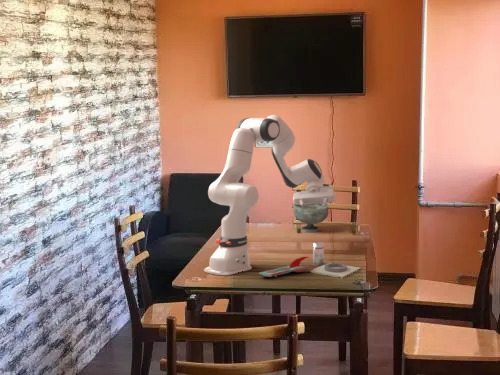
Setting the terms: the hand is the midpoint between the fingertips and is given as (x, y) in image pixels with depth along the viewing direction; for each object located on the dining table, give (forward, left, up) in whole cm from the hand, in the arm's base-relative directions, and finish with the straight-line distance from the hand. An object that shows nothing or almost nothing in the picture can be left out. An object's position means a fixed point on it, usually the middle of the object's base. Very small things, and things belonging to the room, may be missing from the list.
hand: (313, 205), depth 342 cm
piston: (-11, -9, -25) cm, 29 cm away
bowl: (+45, +30, -25) cm, 60 cm away
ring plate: (-16, -21, -25) cm, 36 cm away
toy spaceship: (-32, -6, -25) cm, 41 cm away
